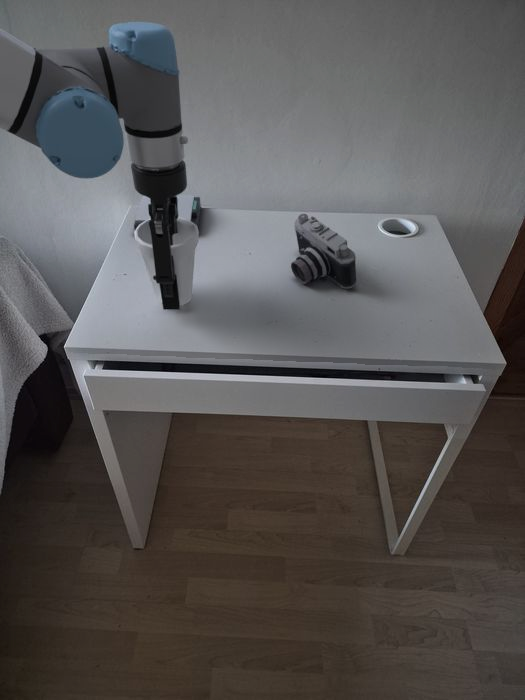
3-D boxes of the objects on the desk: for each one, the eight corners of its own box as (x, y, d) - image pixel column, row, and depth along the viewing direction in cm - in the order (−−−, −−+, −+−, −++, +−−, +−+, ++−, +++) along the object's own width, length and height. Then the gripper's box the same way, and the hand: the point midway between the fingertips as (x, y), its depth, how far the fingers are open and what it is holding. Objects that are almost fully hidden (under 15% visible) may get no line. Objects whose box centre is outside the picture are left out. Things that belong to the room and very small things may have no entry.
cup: (211, 306, 77) (208, 240, 68) (155, 321, 74) (143, 253, 65) (191, 275, 83) (186, 210, 74) (139, 288, 80) (126, 222, 71)
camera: (275, 266, 91) (266, 227, 83) (308, 245, 93) (302, 205, 85) (324, 308, 82) (319, 269, 74) (360, 283, 83) (358, 242, 76)
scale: (135, 235, 95) (132, 219, 92) (144, 206, 104) (142, 190, 101) (197, 236, 95) (195, 219, 93) (200, 207, 104) (199, 191, 102)
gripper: (179, 196, 55) (192, 332, 70) (189, 134, 70) (198, 258, 85) (117, 195, 54) (144, 332, 70) (141, 133, 69) (158, 258, 85)
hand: (174, 291), depth 78 cm, fingers closed on cup, 8 cm apart
